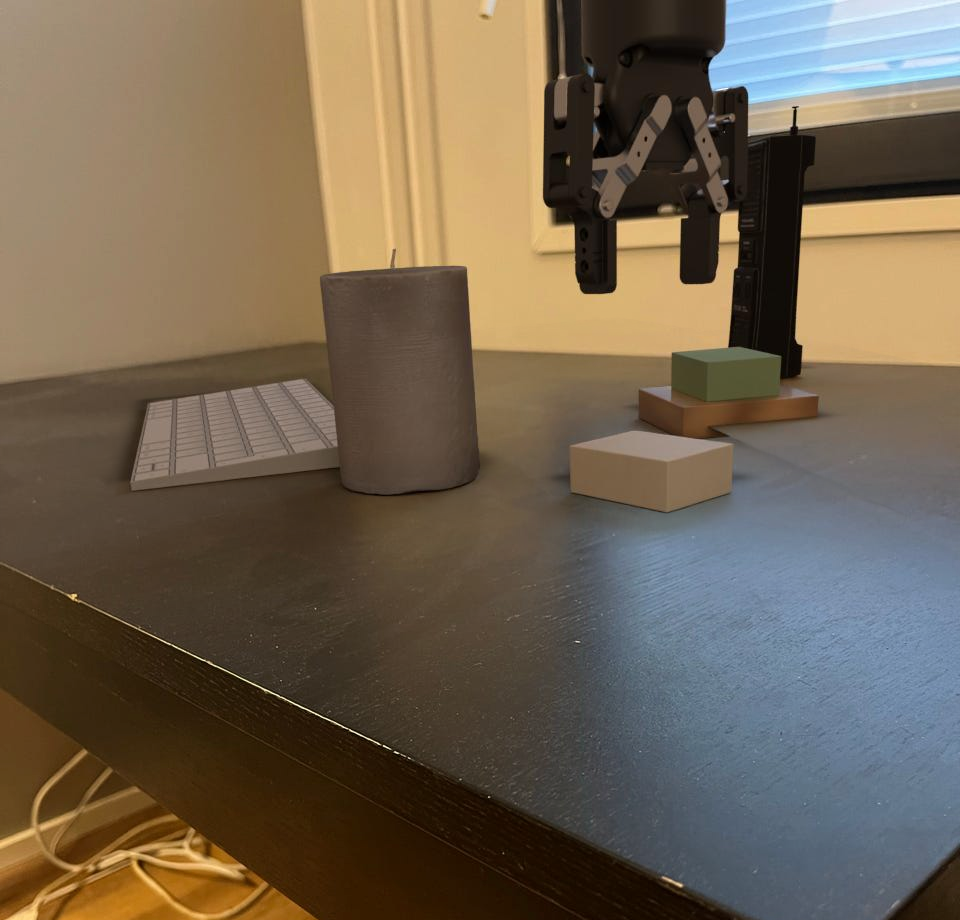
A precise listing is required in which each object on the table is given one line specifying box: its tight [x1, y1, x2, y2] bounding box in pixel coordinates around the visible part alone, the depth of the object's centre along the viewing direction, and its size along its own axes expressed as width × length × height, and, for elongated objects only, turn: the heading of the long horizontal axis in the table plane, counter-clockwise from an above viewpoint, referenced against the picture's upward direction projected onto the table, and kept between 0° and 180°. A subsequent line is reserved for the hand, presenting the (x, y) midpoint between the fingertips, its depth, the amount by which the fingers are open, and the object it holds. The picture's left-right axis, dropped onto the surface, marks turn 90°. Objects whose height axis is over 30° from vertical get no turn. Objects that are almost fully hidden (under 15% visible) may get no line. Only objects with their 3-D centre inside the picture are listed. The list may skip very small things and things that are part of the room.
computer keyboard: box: [129, 378, 340, 492], centre depth 91 cm, size 43×19×2 cm, turn 14°
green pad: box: [670, 347, 781, 402], centre depth 80 cm, size 6×8×3 cm
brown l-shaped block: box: [638, 384, 820, 439], centre depth 81 cm, size 11×11×2 cm
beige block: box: [569, 430, 734, 513], centre depth 61 cm, size 6×8×3 cm
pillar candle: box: [319, 248, 481, 496], centre depth 66 cm, size 10×10×15 cm
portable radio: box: [727, 105, 817, 379], centre depth 100 cm, size 8×6×25 cm
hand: (650, 288), depth 57 cm, fingers open, 8 cm apart
